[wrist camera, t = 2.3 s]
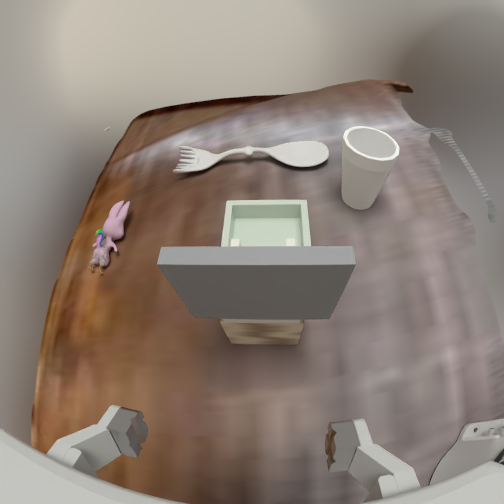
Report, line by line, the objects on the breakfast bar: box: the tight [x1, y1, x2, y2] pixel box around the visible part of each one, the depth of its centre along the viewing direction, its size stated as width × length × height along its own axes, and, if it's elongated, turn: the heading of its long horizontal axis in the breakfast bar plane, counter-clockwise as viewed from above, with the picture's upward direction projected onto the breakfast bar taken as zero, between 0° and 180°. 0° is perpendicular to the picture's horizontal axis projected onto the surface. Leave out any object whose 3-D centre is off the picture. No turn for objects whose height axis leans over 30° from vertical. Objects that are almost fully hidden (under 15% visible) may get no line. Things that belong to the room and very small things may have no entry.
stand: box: [220, 319, 304, 345], centre depth 36 cm, size 9×9×9 cm
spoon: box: [173, 141, 329, 173], centre depth 57 cm, size 9×32×4 cm, turn 91°
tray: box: [221, 200, 311, 247], centre depth 44 cm, size 13×13×4 cm
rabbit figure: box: [88, 201, 130, 274], centre depth 47 cm, size 6×6×15 cm
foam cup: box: [341, 126, 399, 210], centre depth 45 cm, size 10×9×13 cm
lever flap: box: [157, 238, 356, 323], centre depth 27 cm, size 9×14×12 cm, turn 88°
